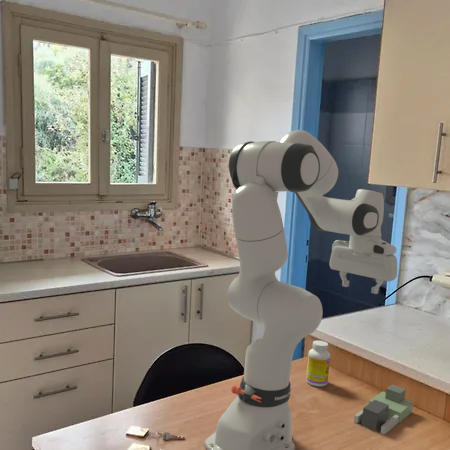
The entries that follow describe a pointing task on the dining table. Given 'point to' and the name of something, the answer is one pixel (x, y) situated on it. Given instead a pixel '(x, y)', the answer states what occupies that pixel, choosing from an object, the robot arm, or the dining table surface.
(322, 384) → the supplement bottle
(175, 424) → the dining table surface
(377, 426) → the grey rectangular block
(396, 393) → the two-prong power plug
